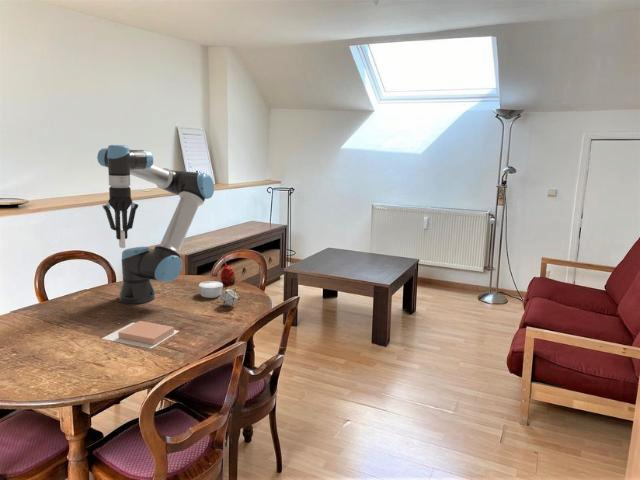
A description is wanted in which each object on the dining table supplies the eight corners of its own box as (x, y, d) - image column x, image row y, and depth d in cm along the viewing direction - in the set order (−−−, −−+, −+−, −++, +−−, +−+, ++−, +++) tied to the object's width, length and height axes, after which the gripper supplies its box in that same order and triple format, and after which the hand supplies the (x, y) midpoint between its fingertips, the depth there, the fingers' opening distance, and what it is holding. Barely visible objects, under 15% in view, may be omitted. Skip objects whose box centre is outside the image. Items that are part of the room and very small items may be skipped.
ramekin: (212, 289, 238) (212, 279, 237) (228, 295, 231) (228, 284, 230) (193, 294, 230) (193, 284, 228) (208, 300, 223) (208, 289, 222)
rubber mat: (101, 340, 176) (101, 338, 176) (132, 323, 192) (132, 322, 192) (151, 350, 170) (151, 348, 170) (179, 332, 186) (179, 330, 186)
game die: (233, 313, 219) (247, 295, 218) (224, 312, 210) (238, 294, 210) (220, 300, 222) (233, 283, 221) (210, 299, 214) (224, 281, 213)
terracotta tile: (118, 338, 177) (154, 345, 173) (118, 332, 177) (153, 338, 172) (140, 326, 188) (174, 333, 184) (140, 320, 188) (174, 326, 183)
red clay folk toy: (230, 286, 244) (230, 257, 241) (217, 284, 246) (217, 255, 243) (237, 282, 251) (237, 253, 248) (225, 280, 253) (225, 252, 250)
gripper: (104, 188, 179) (107, 251, 184) (140, 187, 187) (142, 247, 192) (98, 185, 185) (101, 247, 190) (134, 184, 193) (136, 243, 198)
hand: (122, 247), depth 191 cm, fingers closed
